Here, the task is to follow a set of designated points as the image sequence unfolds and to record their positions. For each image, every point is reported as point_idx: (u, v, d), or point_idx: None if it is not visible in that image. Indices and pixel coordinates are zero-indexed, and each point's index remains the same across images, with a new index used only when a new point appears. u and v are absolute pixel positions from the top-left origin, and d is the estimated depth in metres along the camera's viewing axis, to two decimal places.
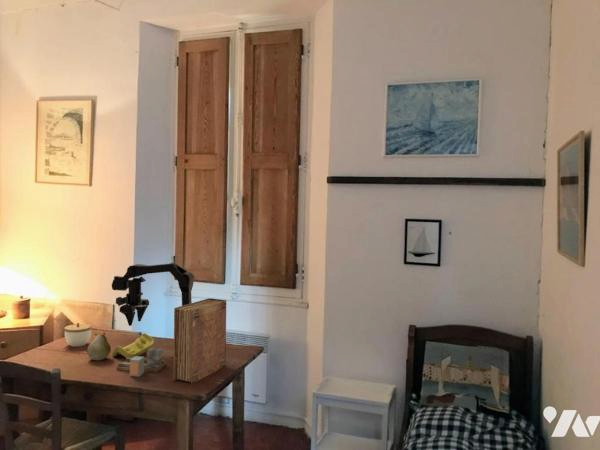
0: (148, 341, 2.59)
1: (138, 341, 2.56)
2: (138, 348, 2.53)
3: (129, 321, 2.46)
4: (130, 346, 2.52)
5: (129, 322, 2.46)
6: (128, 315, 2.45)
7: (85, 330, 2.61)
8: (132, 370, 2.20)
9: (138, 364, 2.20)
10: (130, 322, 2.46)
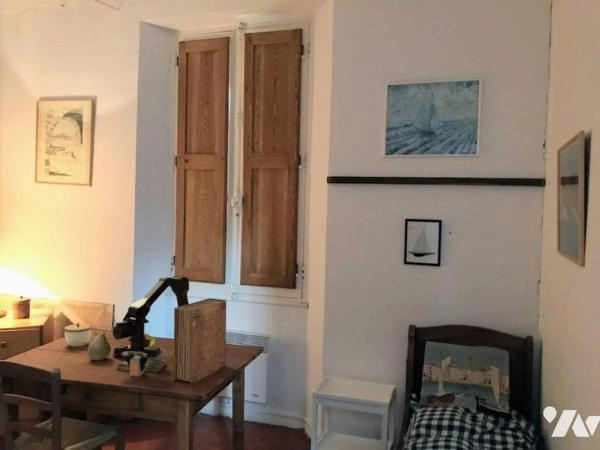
0: None
1: None
2: None
3: None
4: None
5: None
6: None
7: (85, 330, 2.61)
8: (132, 370, 2.20)
9: (138, 364, 2.20)
10: None
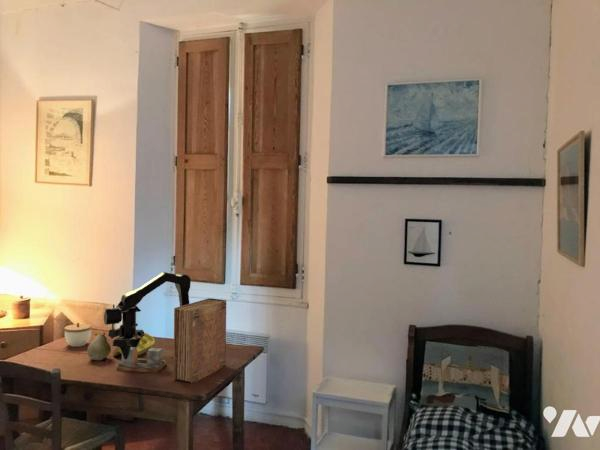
0: (149, 341, 2.60)
1: None
2: (139, 348, 2.54)
3: (124, 354, 2.29)
4: None
5: (125, 355, 2.29)
6: (124, 348, 2.28)
7: (85, 330, 2.61)
8: (135, 358, 2.32)
9: None
10: (126, 355, 2.29)
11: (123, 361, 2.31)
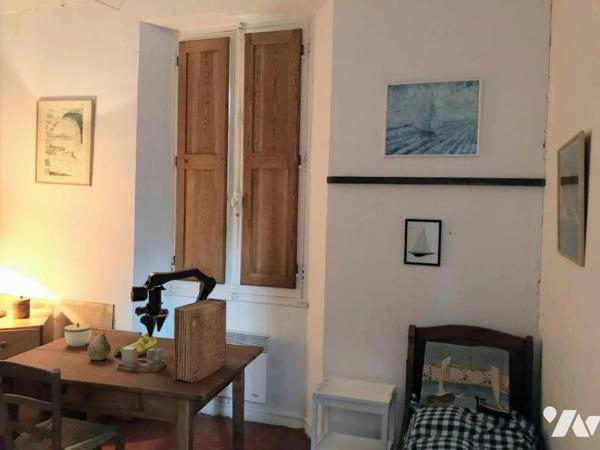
0: (151, 341, 2.60)
1: (140, 341, 2.56)
2: (140, 348, 2.54)
3: (149, 332, 2.35)
4: (132, 346, 2.53)
5: (149, 333, 2.35)
6: (148, 326, 2.34)
7: (85, 330, 2.61)
8: (135, 358, 2.32)
9: None
10: (150, 333, 2.35)
11: (123, 361, 2.31)
